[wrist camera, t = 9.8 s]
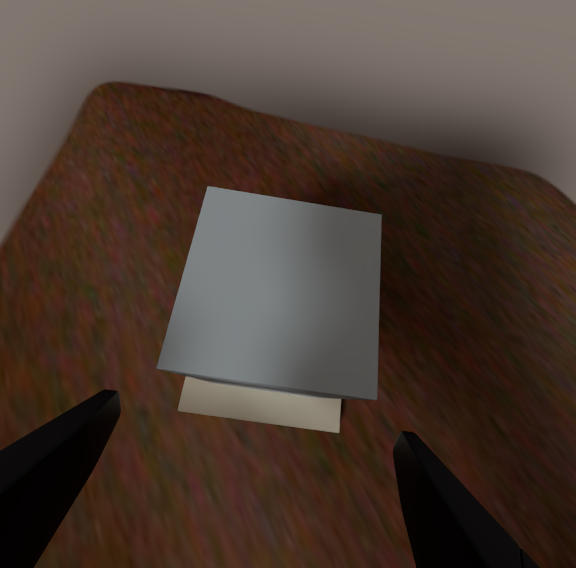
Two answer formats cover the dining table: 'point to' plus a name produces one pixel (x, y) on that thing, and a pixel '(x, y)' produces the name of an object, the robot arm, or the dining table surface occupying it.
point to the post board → (260, 405)
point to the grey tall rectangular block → (279, 298)
